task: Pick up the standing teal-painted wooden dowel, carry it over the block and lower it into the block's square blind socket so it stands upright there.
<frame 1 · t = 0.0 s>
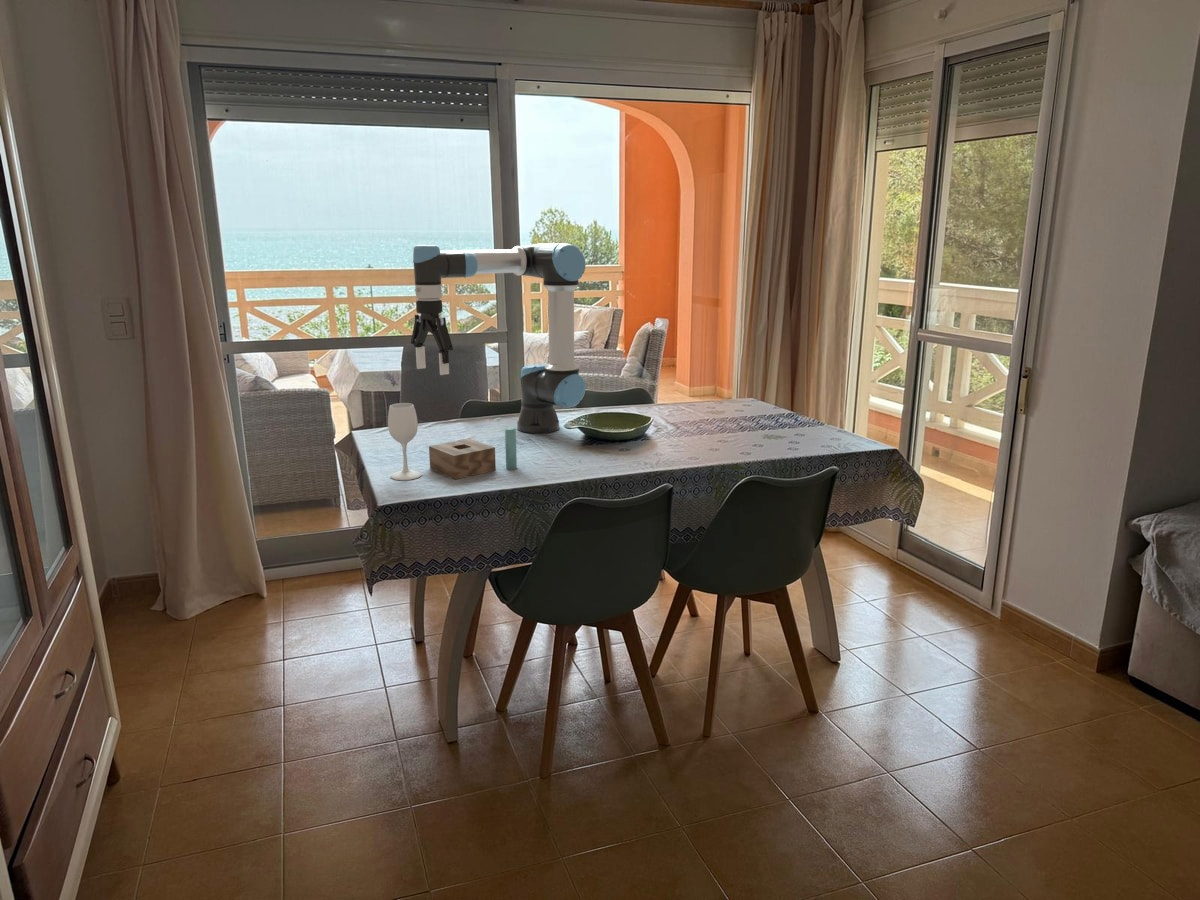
hand: (432, 371, 240), 28 cm above the table, fingers open, 13 cm apart
dowel: (511, 467, 241), on the table
wineglass: (406, 476, 232), on the table
socket block: (462, 469, 239), on the table
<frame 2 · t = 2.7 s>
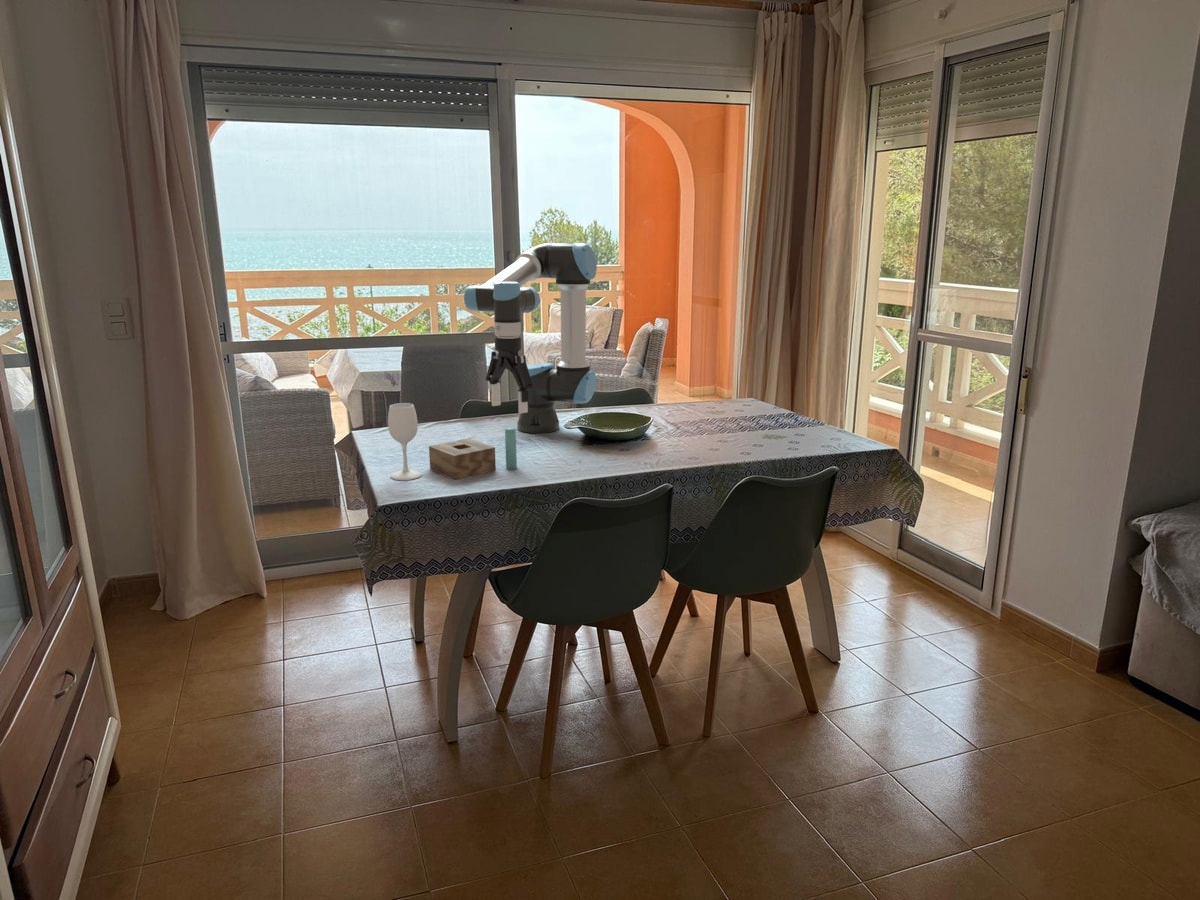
hand: (509, 409, 236), 18 cm above the table, fingers open, 13 cm apart
nothing on the table moved.
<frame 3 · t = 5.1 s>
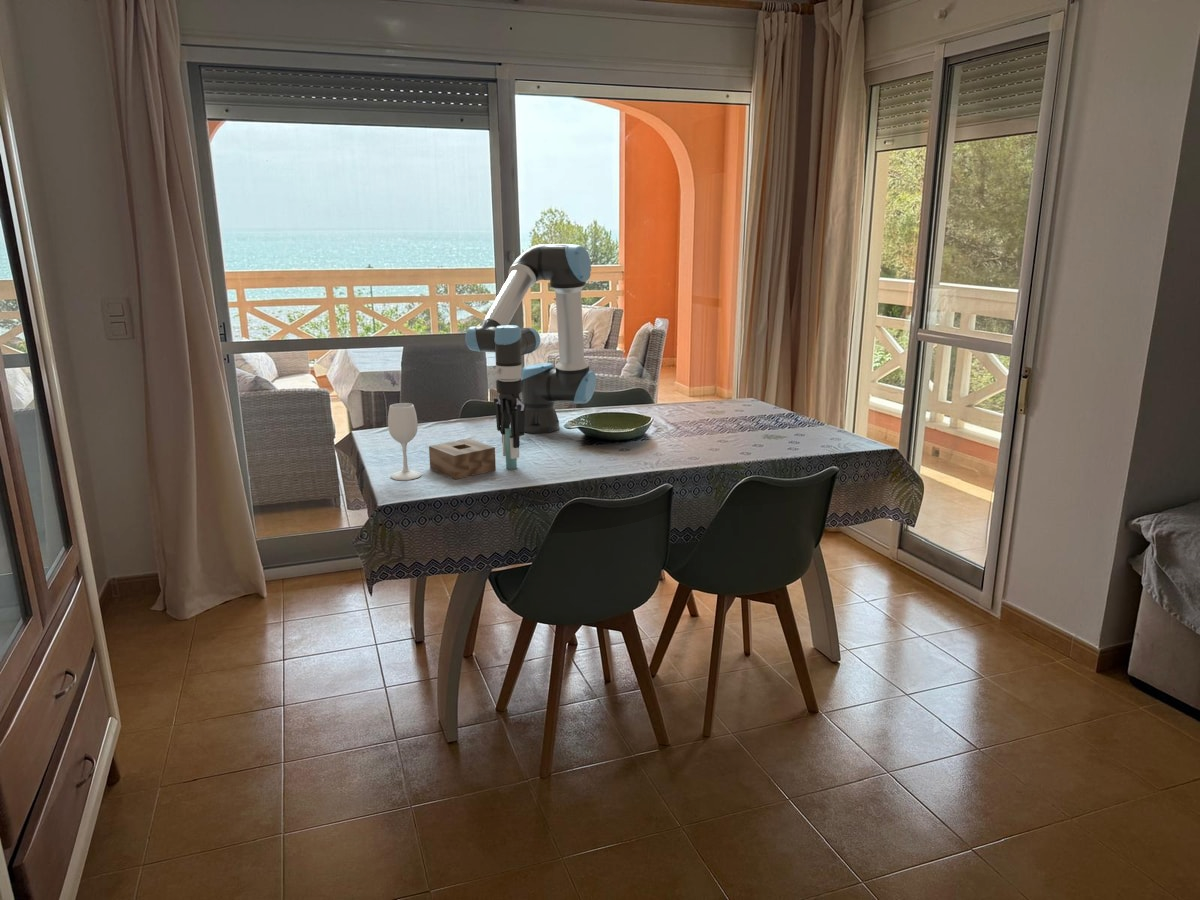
hand: (511, 456, 240), 4 cm above the table, fingers closed on dowel, 3 cm apart
dowel: (511, 467, 241), on the table, touching gripper
everything else where it was.
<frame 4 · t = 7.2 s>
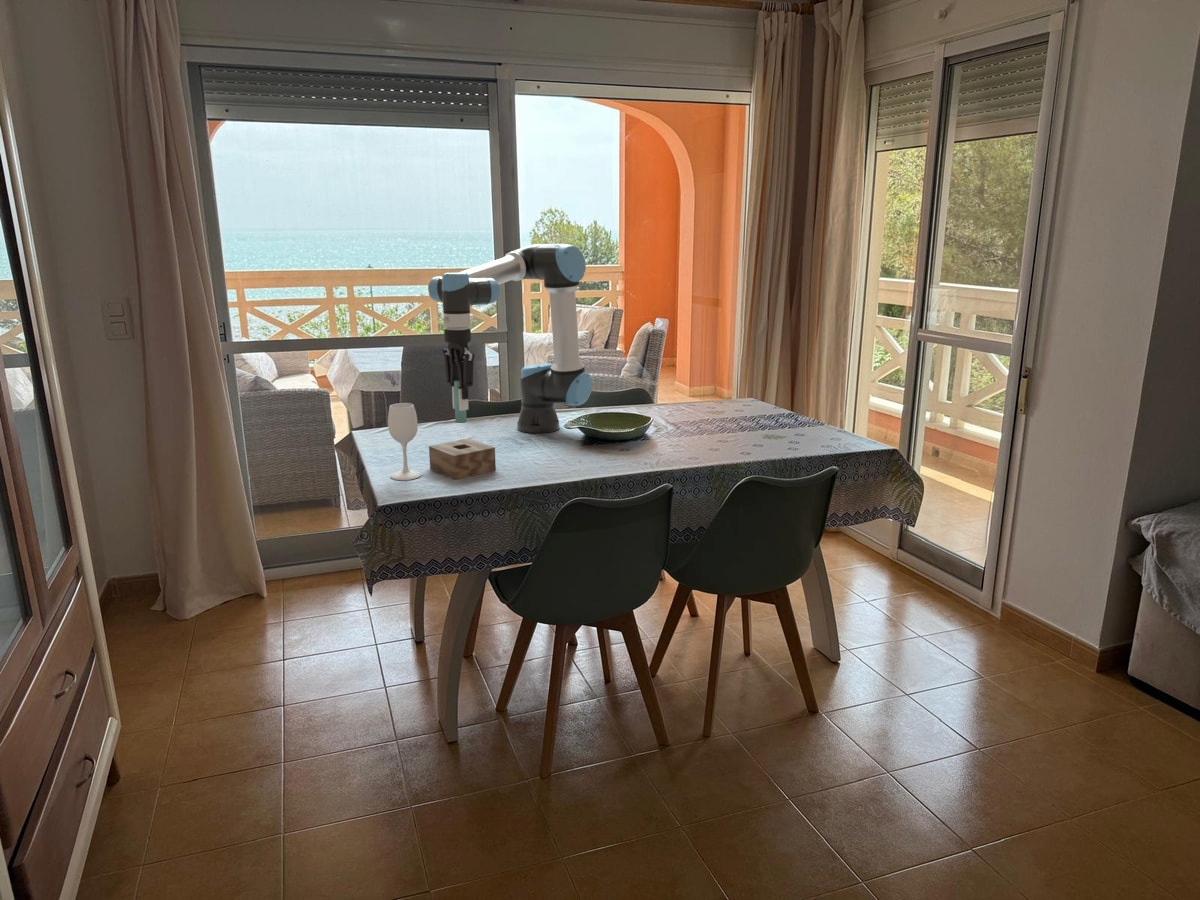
hand: (460, 408, 234), 19 cm above the table, fingers closed on dowel, 3 cm apart
dowel: (461, 421, 235), point 15 cm above the table, touching gripper
everything else where it was.
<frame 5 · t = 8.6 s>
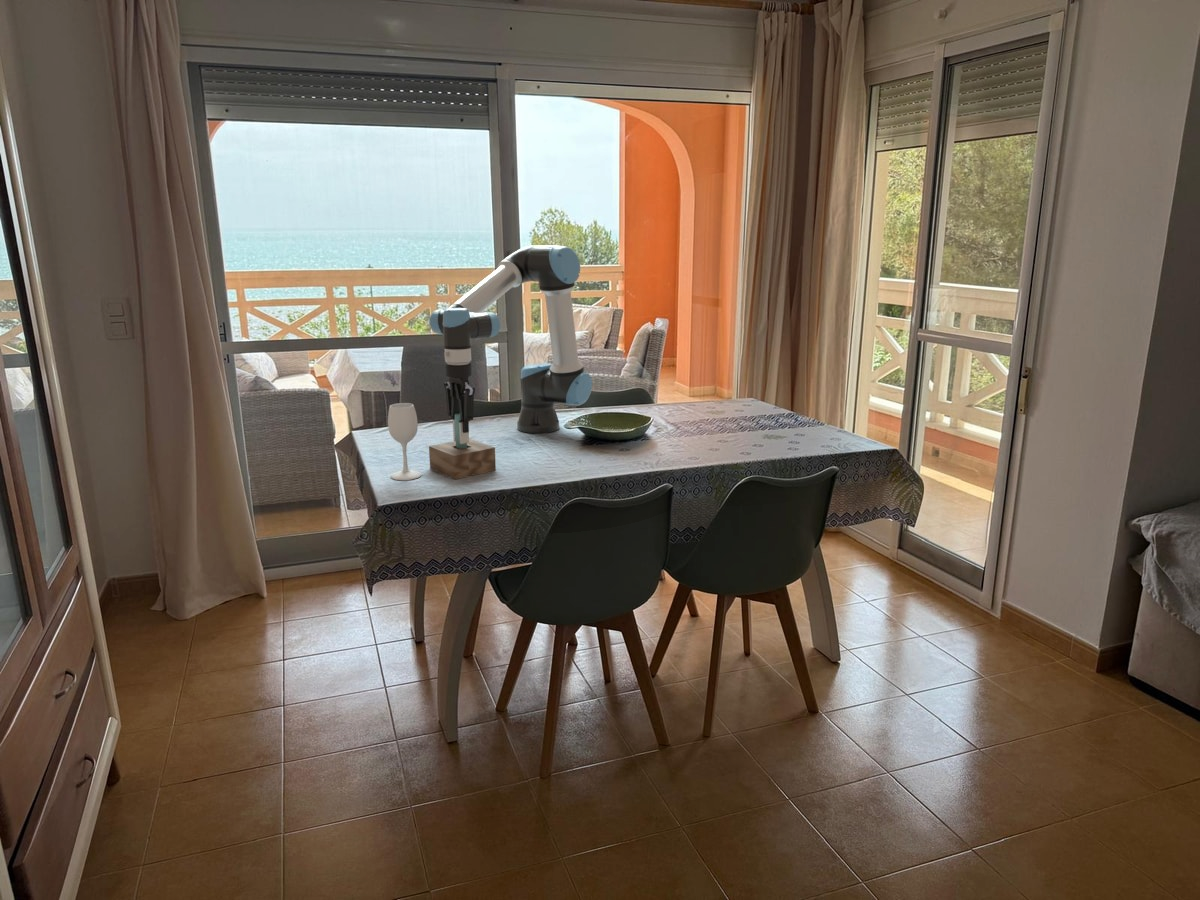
hand: (461, 441, 236), 9 cm above the table, fingers closed on dowel, 3 cm apart
dowel: (461, 454, 237), point 5 cm above the table, touching gripper
everything else where it was.
when the fingers open (8 cm above the table, at t = 9.5 s): dowel drops 2 cm, resting on socket block.
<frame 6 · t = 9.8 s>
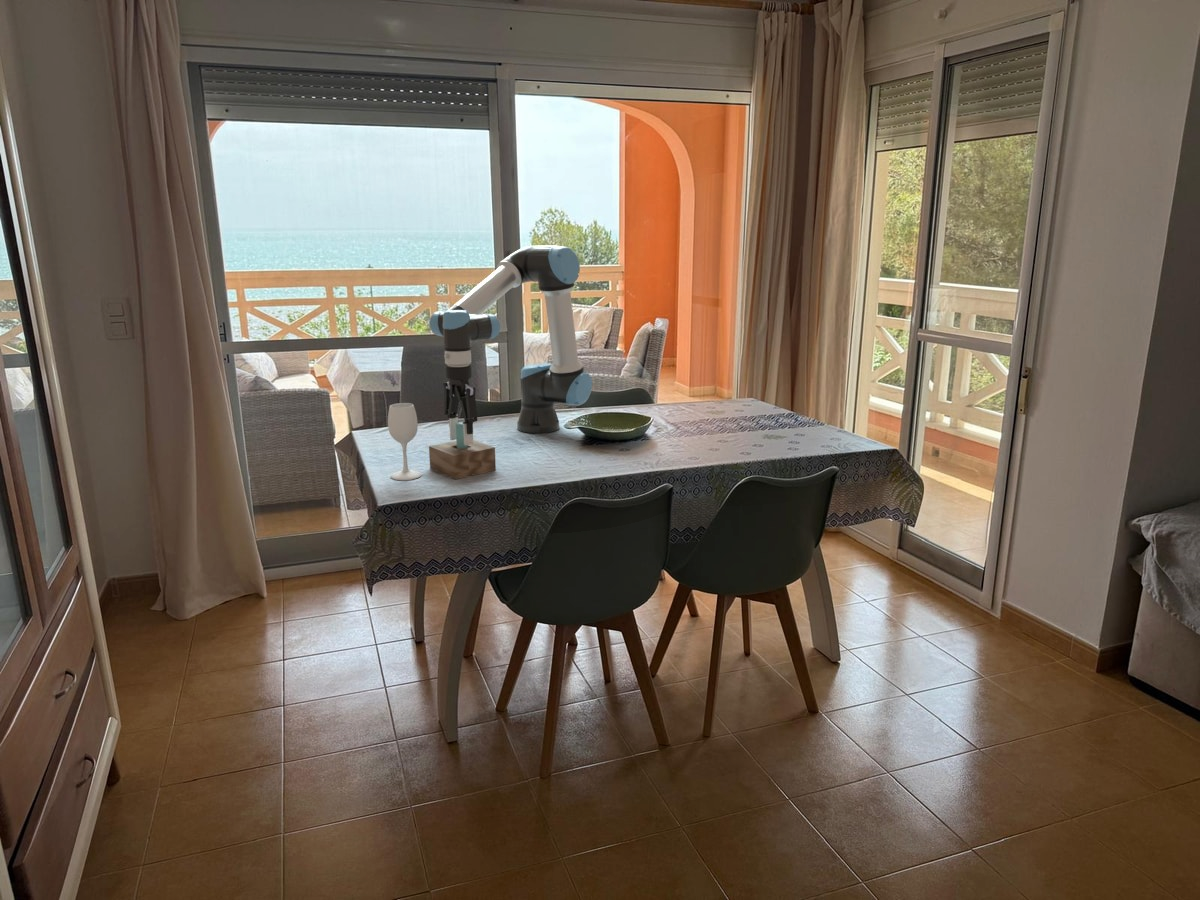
hand: (461, 441, 237), 9 cm above the table, fingers open, 7 cm apart
dowel: (462, 463, 238), point 2 cm above the table, touching socket block
everything else where it was.
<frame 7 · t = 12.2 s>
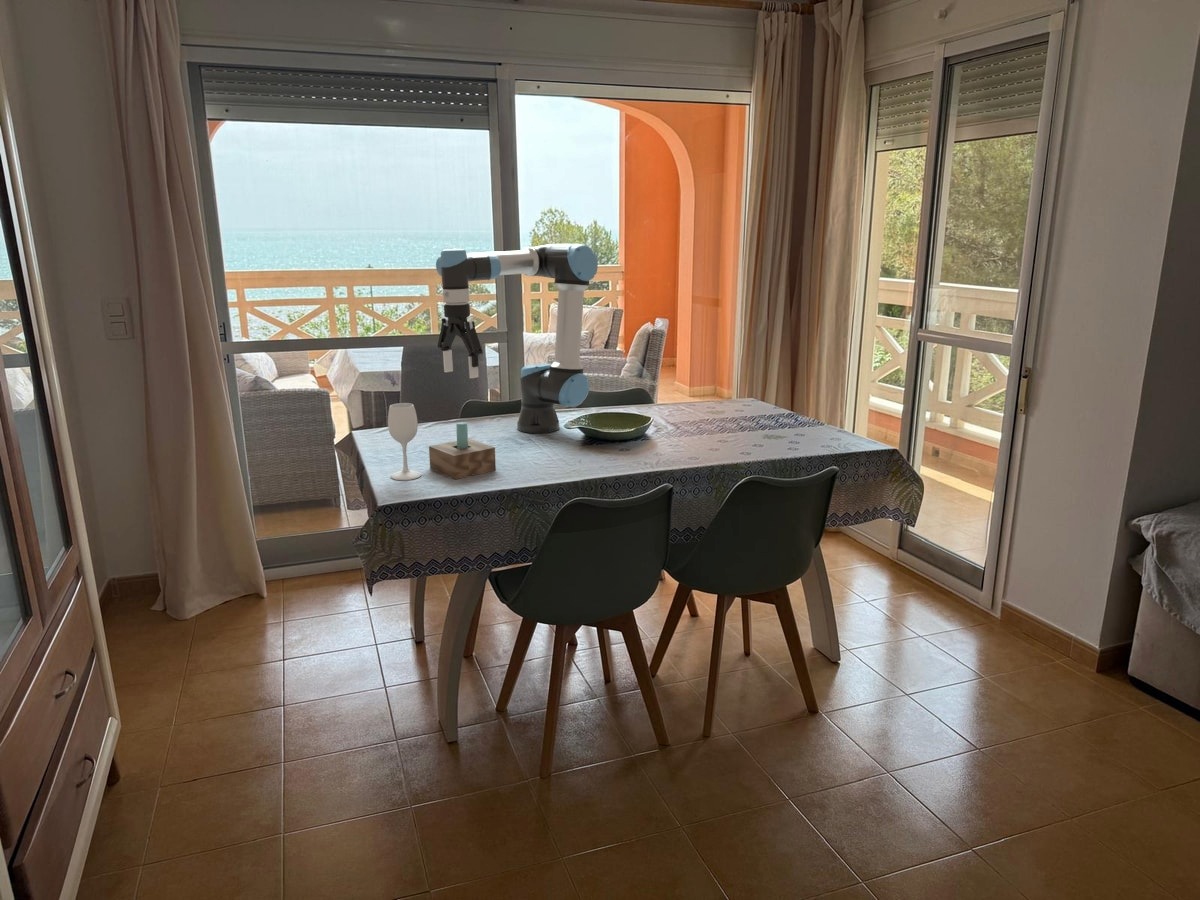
hand: (461, 374, 241), 27 cm above the table, fingers open, 13 cm apart
nothing on the table moved.
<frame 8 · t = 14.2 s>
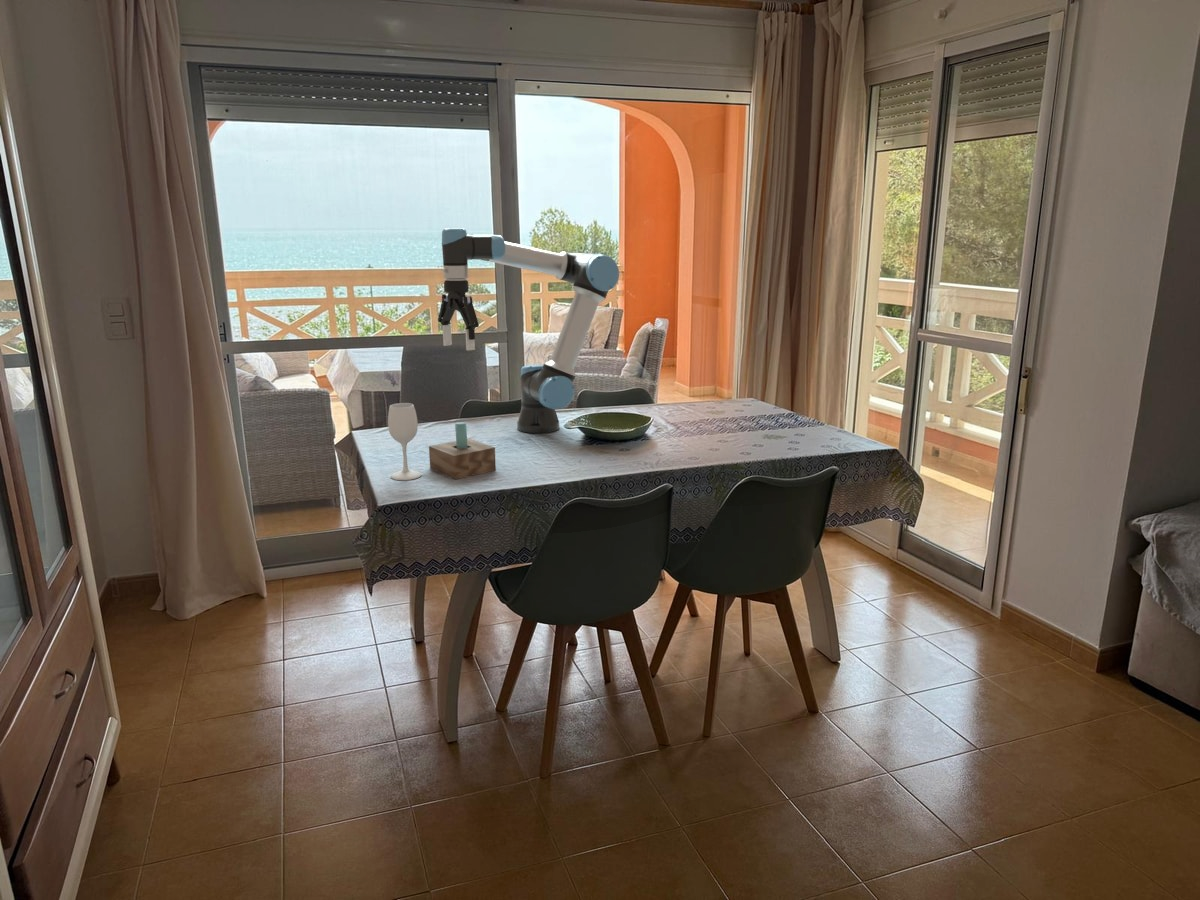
hand: (458, 347, 255), 33 cm above the table, fingers open, 13 cm apart
nothing on the table moved.
at the end: dowel 0.3 cm off-centre on the socket block, point 2.1 cm above the socket block's base; dowel tilted 2°; the gripper is holding nothing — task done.
